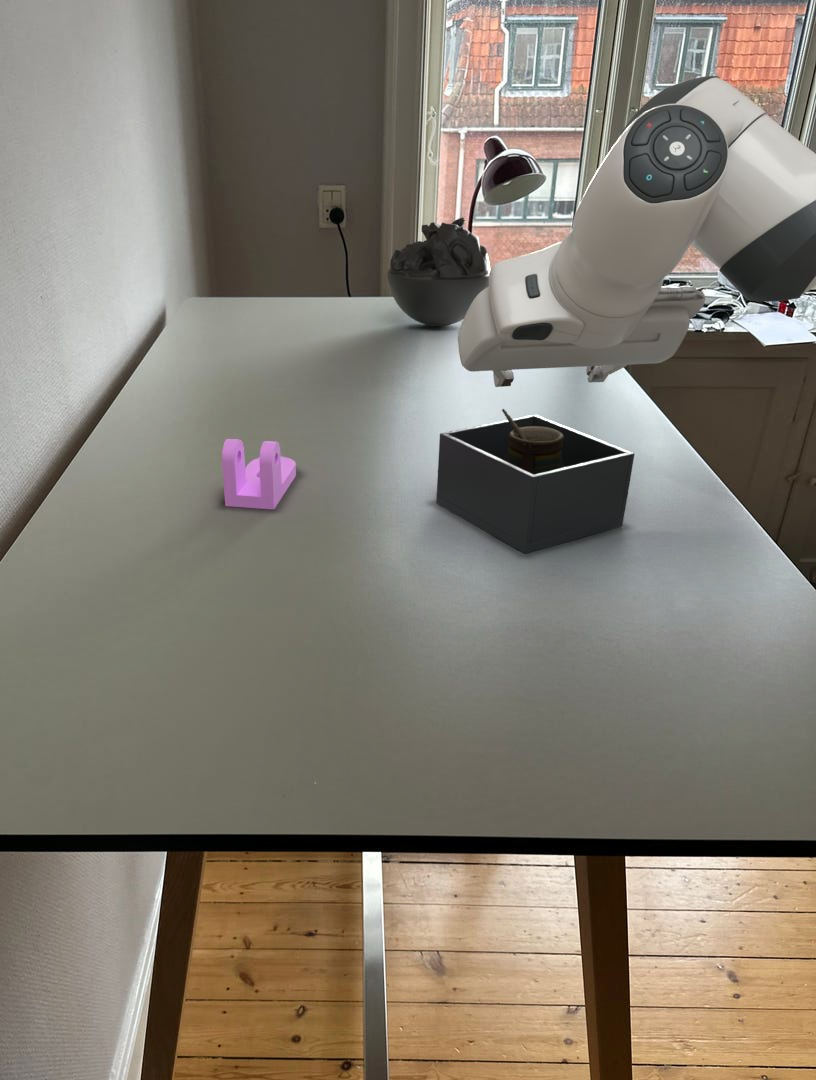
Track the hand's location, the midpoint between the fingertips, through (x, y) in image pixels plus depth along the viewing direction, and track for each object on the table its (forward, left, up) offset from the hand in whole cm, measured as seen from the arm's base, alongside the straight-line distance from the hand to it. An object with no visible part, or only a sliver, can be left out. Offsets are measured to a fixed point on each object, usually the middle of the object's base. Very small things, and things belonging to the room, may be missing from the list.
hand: (547, 378), depth 90 cm
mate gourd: (0, -1, -14) cm, 14 cm away
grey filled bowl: (-46, -83, -15) cm, 96 cm away
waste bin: (0, -1, -15) cm, 15 cm away
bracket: (+21, -23, -15) cm, 34 cm away
